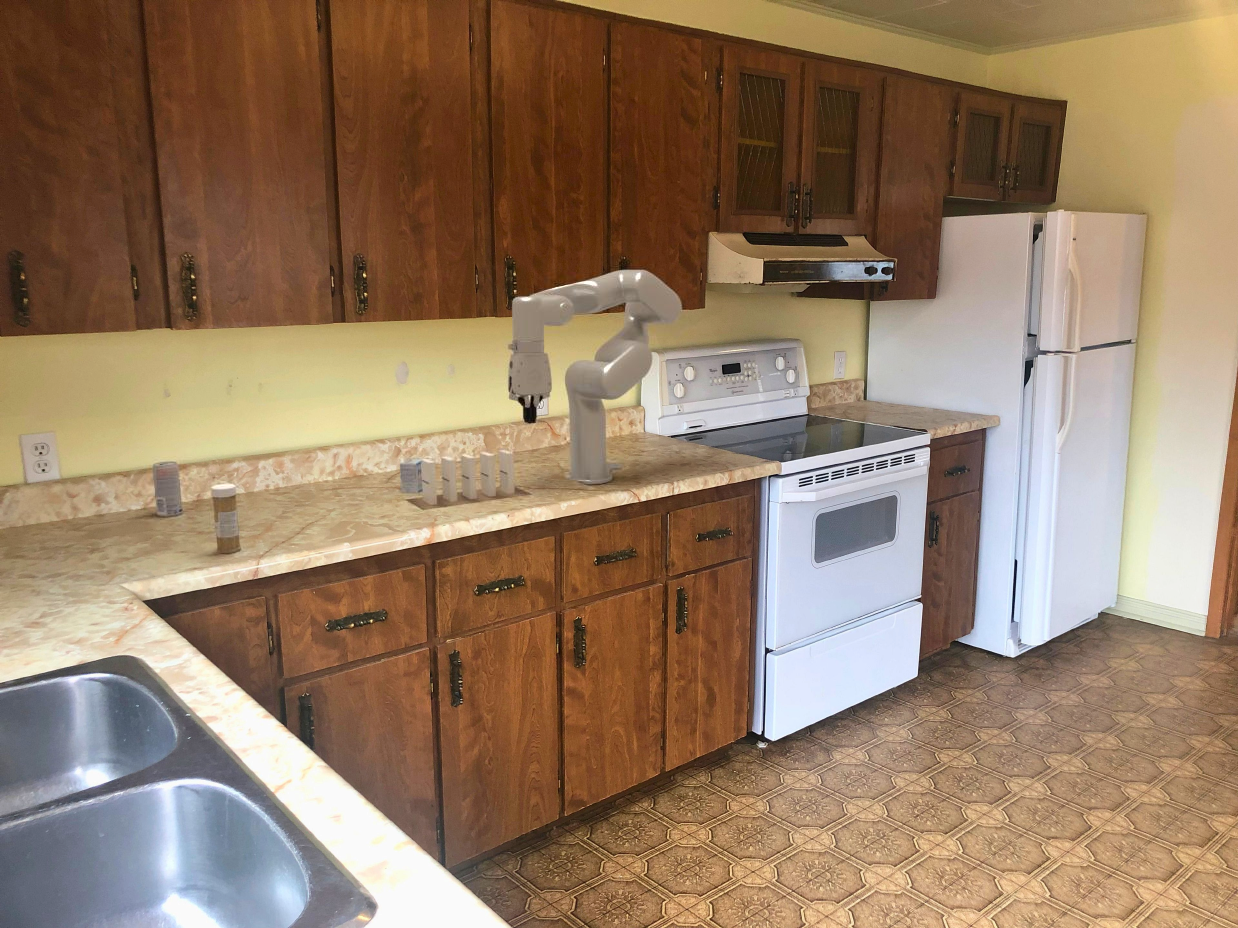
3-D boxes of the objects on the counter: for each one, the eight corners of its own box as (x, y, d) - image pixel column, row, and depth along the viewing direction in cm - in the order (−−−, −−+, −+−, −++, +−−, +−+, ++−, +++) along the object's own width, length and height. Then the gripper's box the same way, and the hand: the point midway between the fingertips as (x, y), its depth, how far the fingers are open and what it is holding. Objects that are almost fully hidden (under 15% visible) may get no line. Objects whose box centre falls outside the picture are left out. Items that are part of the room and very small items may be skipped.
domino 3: (468, 494, 235) (467, 454, 233) (477, 498, 231) (475, 457, 229) (461, 495, 234) (460, 454, 232) (470, 499, 230) (468, 458, 228)
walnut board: (511, 489, 245) (511, 485, 245) (532, 498, 235) (532, 494, 235) (405, 504, 231) (405, 499, 230) (423, 514, 221) (422, 509, 220)
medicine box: (418, 498, 237) (416, 463, 235) (401, 497, 238) (399, 463, 236) (430, 491, 245) (429, 457, 243) (414, 490, 245) (412, 457, 244)
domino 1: (429, 499, 230) (427, 458, 228) (437, 503, 226) (435, 462, 224) (422, 500, 229) (420, 459, 227) (430, 504, 225) (428, 463, 223)
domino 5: (506, 489, 240) (504, 449, 238) (514, 493, 236) (513, 452, 234) (499, 490, 239) (498, 450, 237) (508, 493, 235) (506, 453, 233)
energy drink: (177, 510, 227) (172, 460, 224) (186, 514, 223) (181, 463, 221) (153, 514, 223) (148, 463, 221) (162, 518, 219) (157, 467, 217)
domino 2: (449, 497, 233) (447, 456, 231) (457, 501, 228) (455, 459, 226) (442, 497, 232) (440, 457, 230) (450, 502, 227) (448, 460, 225)
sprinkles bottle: (218, 548, 195) (212, 483, 192) (242, 546, 196) (236, 482, 194) (215, 555, 191) (209, 488, 188) (239, 553, 192) (233, 487, 189)
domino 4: (487, 491, 238) (486, 451, 236) (496, 495, 234) (494, 455, 232) (480, 492, 237) (479, 452, 235) (489, 496, 233) (487, 455, 231)
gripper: (507, 350, 227) (509, 427, 231) (563, 347, 235) (563, 422, 238) (493, 348, 234) (495, 423, 237) (548, 346, 241) (549, 418, 245)
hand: (530, 422), depth 238 cm, fingers closed
